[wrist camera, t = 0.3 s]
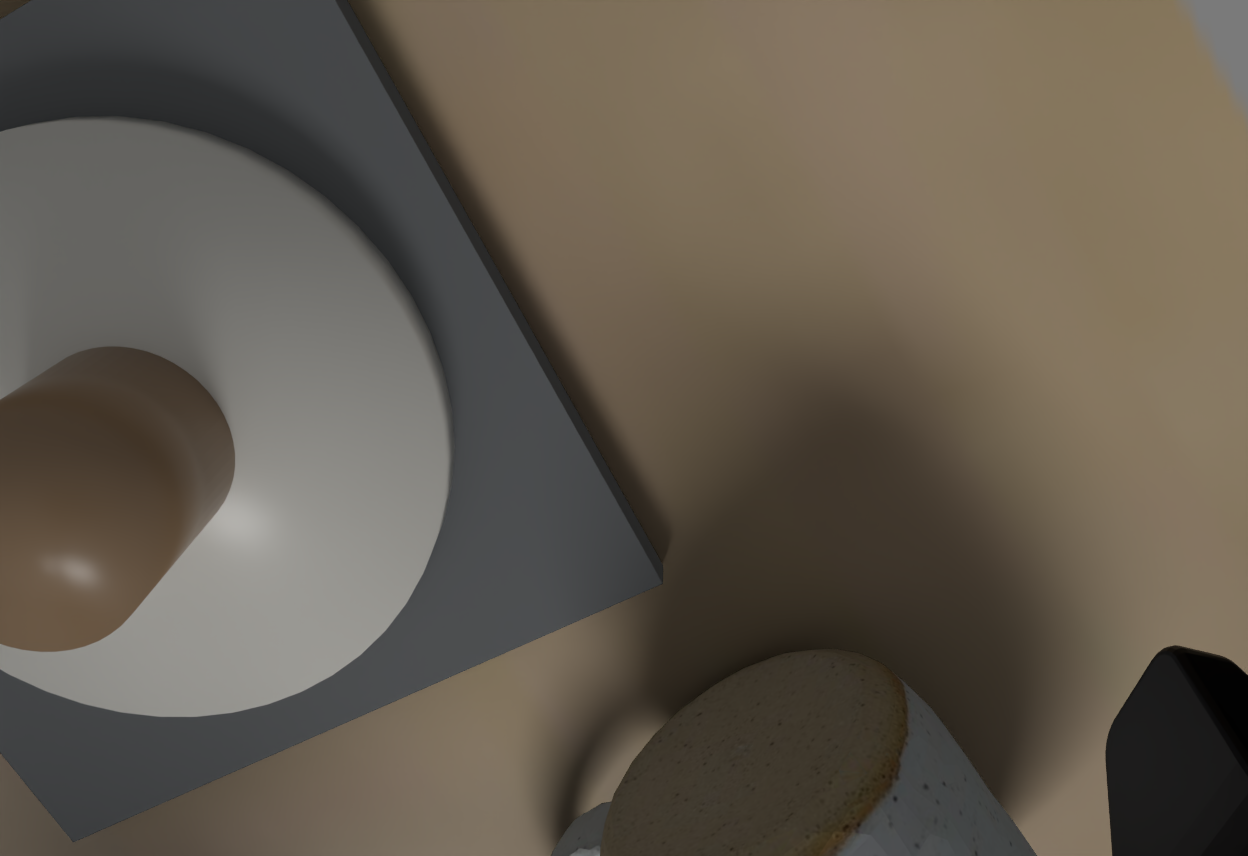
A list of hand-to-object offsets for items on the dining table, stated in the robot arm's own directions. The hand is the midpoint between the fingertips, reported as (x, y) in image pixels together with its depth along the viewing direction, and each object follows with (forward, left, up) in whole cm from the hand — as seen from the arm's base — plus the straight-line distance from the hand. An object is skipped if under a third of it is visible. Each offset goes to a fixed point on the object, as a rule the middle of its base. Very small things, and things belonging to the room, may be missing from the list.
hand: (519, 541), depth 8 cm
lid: (-10, 0, -14) cm, 17 cm away
